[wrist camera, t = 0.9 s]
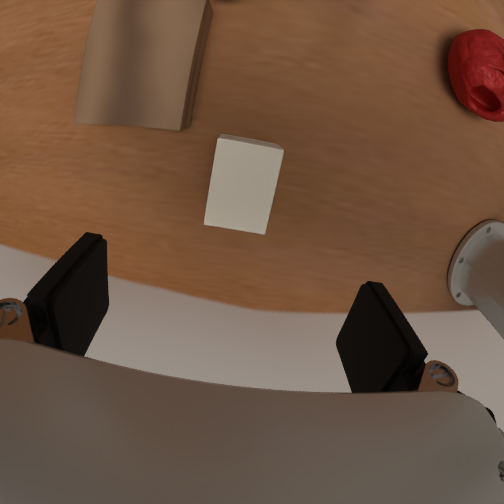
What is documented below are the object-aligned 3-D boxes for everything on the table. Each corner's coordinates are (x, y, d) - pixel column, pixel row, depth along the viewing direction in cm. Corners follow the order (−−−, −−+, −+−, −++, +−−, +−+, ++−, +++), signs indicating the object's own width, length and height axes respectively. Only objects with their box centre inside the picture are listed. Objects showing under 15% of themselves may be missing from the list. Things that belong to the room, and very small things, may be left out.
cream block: (277, 143, 26) (284, 150, 22) (261, 215, 29) (264, 234, 25) (221, 133, 25) (217, 137, 21) (208, 206, 28) (203, 224, 24)
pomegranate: (430, 23, 20) (486, 6, 12) (493, 47, 20) (548, 44, 11) (437, 111, 24) (497, 118, 16) (498, 124, 24) (554, 137, 16)
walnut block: (213, 13, 20) (207, -5, 16) (190, 126, 25) (179, 130, 21) (119, 12, 19) (97, -3, 15) (99, 119, 24) (74, 123, 20)
